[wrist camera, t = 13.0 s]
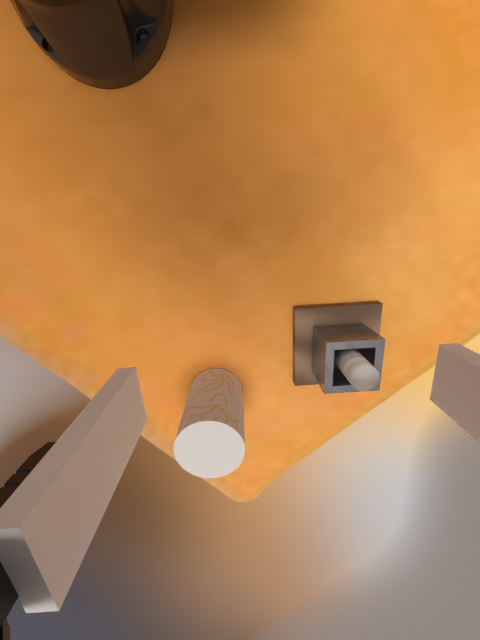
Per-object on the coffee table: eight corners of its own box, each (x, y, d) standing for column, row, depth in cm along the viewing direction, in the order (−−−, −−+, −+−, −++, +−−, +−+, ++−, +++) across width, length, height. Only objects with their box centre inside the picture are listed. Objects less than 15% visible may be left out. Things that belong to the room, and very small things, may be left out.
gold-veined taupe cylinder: (243, 369, 41) (246, 421, 30) (241, 414, 44) (243, 478, 32) (190, 367, 41) (172, 420, 29) (191, 413, 43) (175, 477, 32)
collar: (312, 326, 38) (326, 342, 32) (362, 323, 38) (385, 339, 32) (311, 370, 40) (324, 393, 34) (358, 367, 40) (379, 390, 34)
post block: (293, 306, 38) (312, 332, 28) (378, 301, 38) (426, 324, 28) (293, 381, 42) (310, 426, 32) (370, 376, 42) (411, 420, 32)
